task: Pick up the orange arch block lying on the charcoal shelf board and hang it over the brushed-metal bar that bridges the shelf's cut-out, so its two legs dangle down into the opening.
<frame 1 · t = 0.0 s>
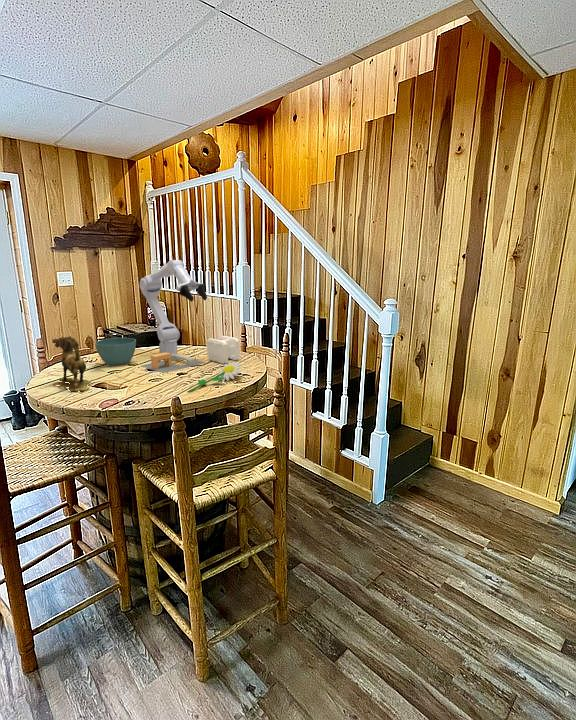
hand: (199, 299, 189), 32 cm above the table, tool tilted 50°, fingers open, 7 cm apart
figurine: (73, 386, 170), on the table
orange arch block: (161, 366, 192), point 1 cm above the table, touching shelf
plant pot: (118, 366, 201), on the table
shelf: (173, 367, 197), on the table
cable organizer: (223, 361, 208), on the table
decorative flower: (214, 384, 171), on the table
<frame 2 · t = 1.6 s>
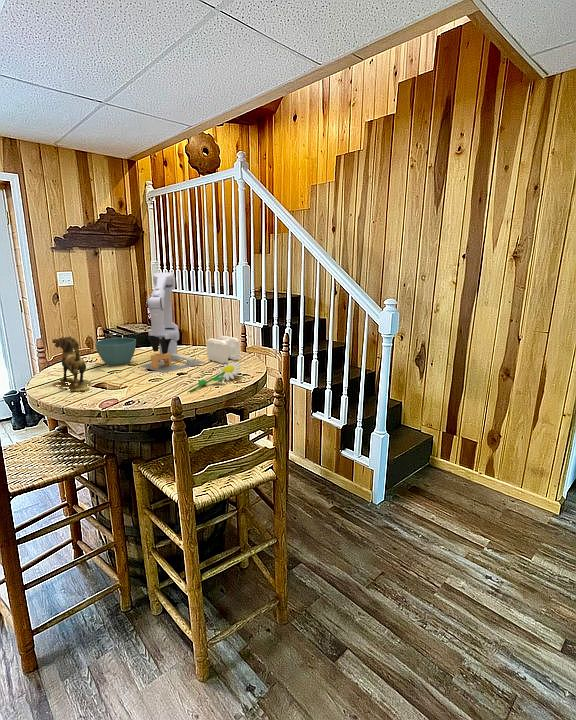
hand: (160, 352, 190), 8 cm above the table, tool pointing down, fingers open, 7 cm apart
nothing on the table moved.
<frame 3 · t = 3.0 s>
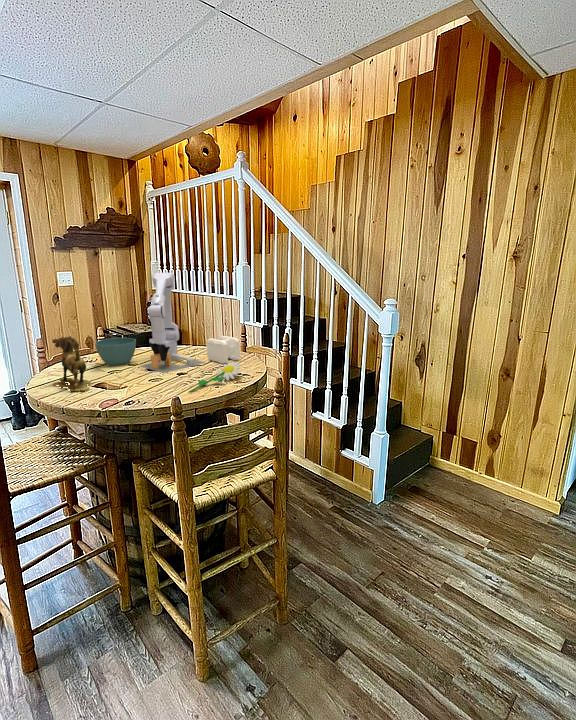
hand: (161, 359, 191), 5 cm above the table, tool pointing down, fingers closed on orange arch block, 4 cm apart
orange arch block: (161, 366, 192), point 1 cm above the table, touching gripper, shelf
everything else where it was.
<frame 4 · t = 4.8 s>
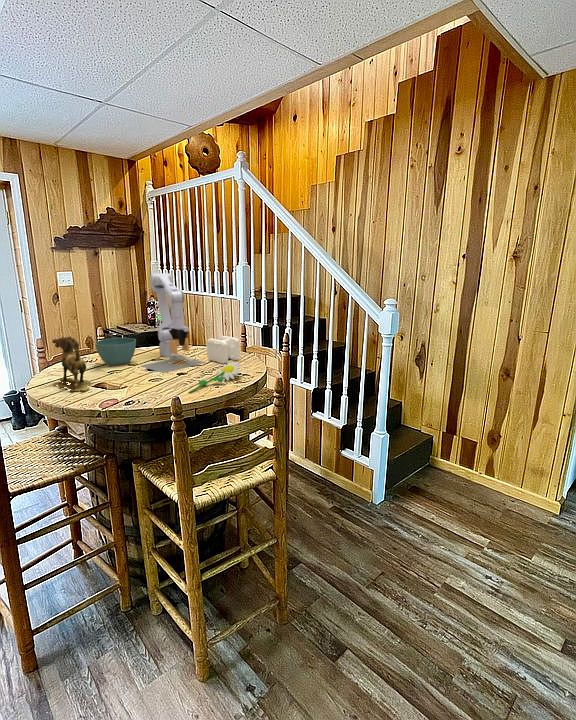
hand: (179, 344, 197), 10 cm above the table, tool pointing down, fingers closed on orange arch block, 4 cm apart
orange arch block: (179, 351, 198), point 7 cm above the table, touching gripper
everything else where it was.
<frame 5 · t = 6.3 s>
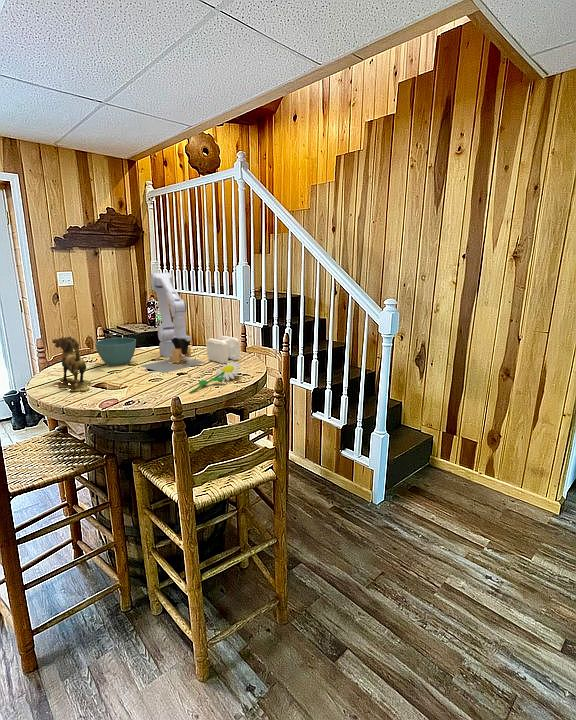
hand: (181, 353, 199), 6 cm above the table, tool pointing down, fingers closed on orange arch block, 4 cm apart
orange arch block: (182, 360, 200), point 2 cm above the table, touching gripper
everything else where it was.
when the fingers open (6 cm above the table, at t = 6.9 s): orange arch block drops 1 cm, resting on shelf.
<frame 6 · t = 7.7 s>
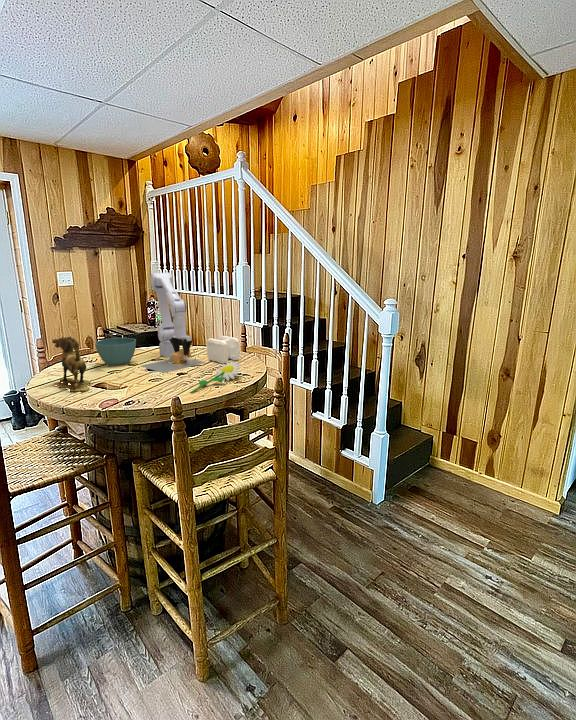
hand: (181, 353, 199), 6 cm above the table, tool pointing down, fingers open, 7 cm apart
orange arch block: (183, 363, 201), point 1 cm above the table, tilted 11°, touching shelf
everything else where it was.
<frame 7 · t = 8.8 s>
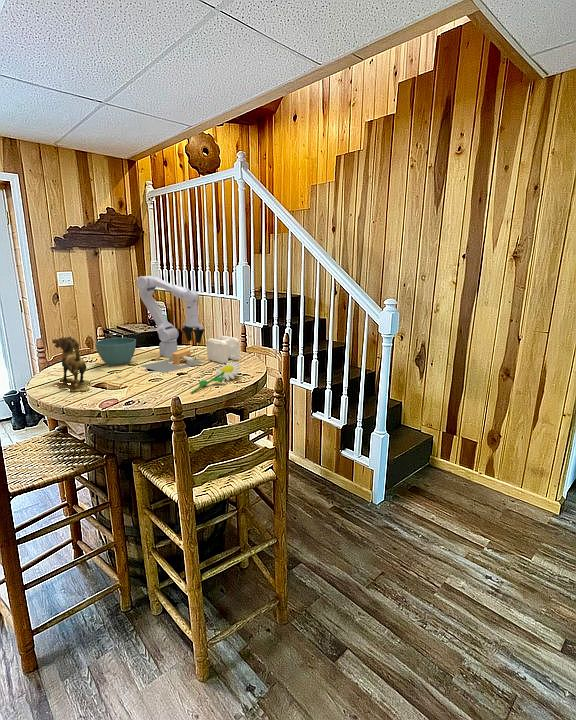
hand: (194, 341, 208), 9 cm above the table, tool pointing down, fingers open, 7 cm apart
orange arch block: (182, 363, 200), point 1 cm above the table, touching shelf
everything else where it was.
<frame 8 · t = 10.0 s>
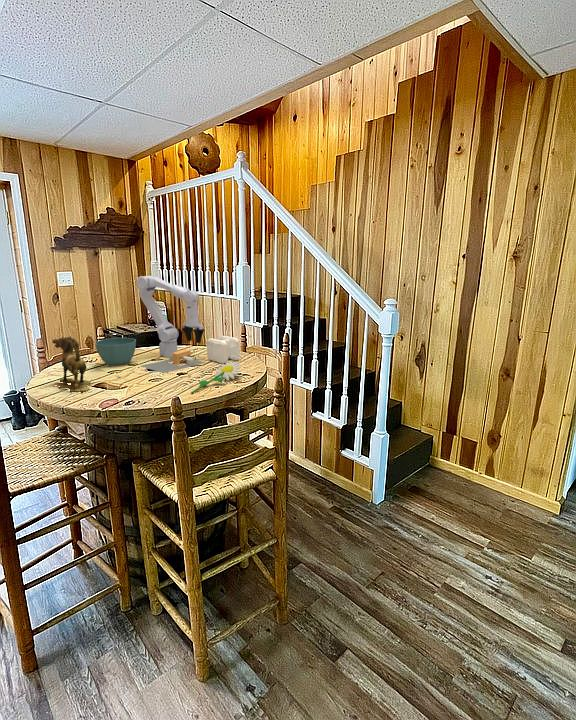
hand: (194, 341, 208), 9 cm above the table, tool pointing down, fingers open, 7 cm apart
at the end: orange arch block 0.6 cm from the target spot on the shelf, point 0.8 cm above the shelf's base; orange arch block touching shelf; the gripper is holding nothing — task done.
